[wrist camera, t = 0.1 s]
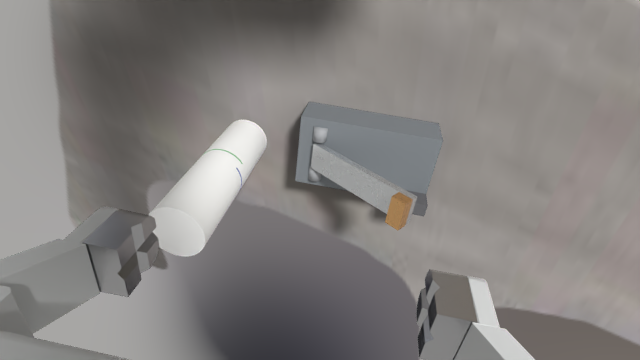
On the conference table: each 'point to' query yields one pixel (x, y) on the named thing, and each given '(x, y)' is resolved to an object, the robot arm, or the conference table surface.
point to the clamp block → (371, 147)
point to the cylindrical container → (208, 190)
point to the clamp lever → (365, 185)
